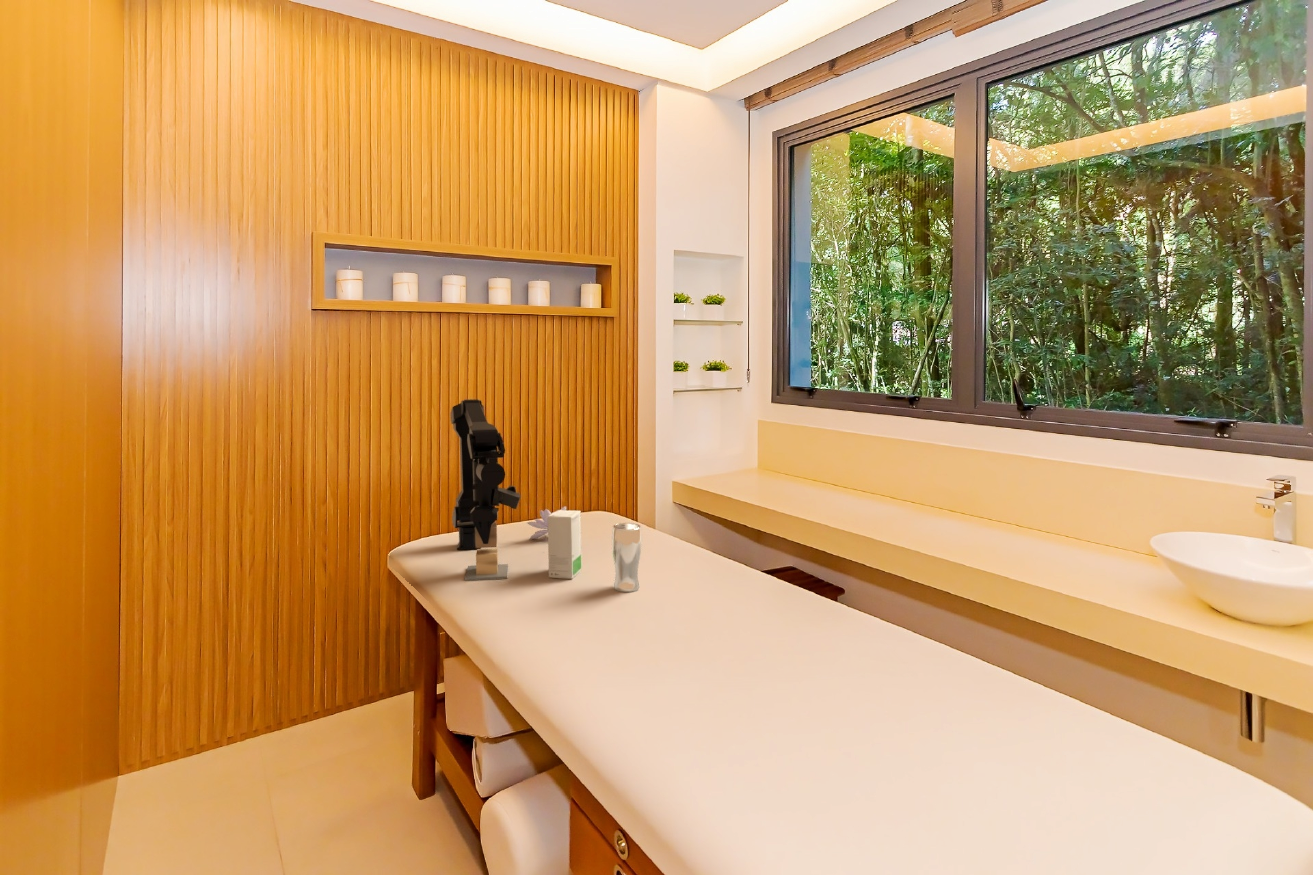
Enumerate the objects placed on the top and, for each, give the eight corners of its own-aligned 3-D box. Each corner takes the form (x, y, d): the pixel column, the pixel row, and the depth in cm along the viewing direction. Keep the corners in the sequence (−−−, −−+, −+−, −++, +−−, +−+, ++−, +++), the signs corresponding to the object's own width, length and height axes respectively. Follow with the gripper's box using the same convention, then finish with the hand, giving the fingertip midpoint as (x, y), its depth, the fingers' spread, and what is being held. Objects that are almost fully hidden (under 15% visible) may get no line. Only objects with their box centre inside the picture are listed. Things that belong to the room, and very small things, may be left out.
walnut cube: (476, 542, 182) (476, 523, 182) (497, 541, 183) (496, 522, 183) (475, 547, 178) (475, 528, 177) (496, 547, 179) (496, 527, 178)
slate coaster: (468, 568, 185) (467, 565, 185) (507, 566, 187) (507, 564, 187) (464, 580, 176) (464, 578, 176) (507, 578, 177) (506, 576, 177)
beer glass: (611, 583, 175) (611, 522, 173) (640, 582, 175) (640, 522, 173) (612, 593, 168) (612, 530, 166) (642, 592, 169) (642, 529, 167)
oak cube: (477, 568, 183) (477, 549, 183) (497, 567, 184) (497, 548, 184) (476, 574, 178) (475, 554, 178) (497, 573, 179) (496, 553, 179)
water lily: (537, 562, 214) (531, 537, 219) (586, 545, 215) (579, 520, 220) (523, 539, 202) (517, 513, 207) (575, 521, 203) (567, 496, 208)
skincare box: (572, 579, 177) (571, 517, 175) (546, 577, 178) (545, 516, 176) (582, 569, 185) (582, 509, 183) (557, 567, 186) (557, 508, 184)
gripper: (518, 485, 171) (519, 550, 173) (518, 471, 189) (519, 530, 191) (469, 487, 169) (470, 552, 171) (474, 472, 187) (476, 531, 189)
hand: (486, 540), depth 180 cm, fingers closed on walnut cube, 5 cm apart
